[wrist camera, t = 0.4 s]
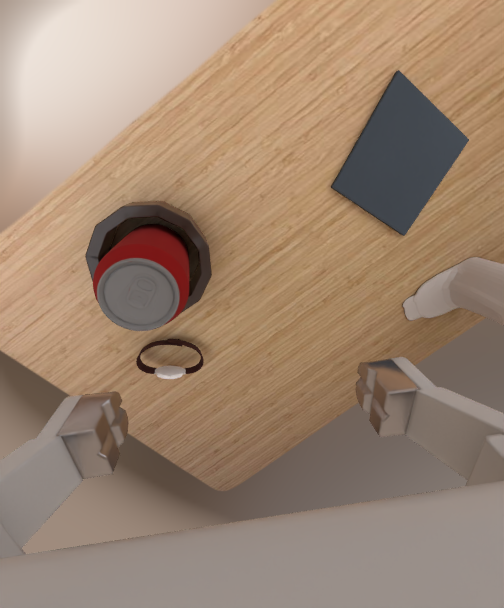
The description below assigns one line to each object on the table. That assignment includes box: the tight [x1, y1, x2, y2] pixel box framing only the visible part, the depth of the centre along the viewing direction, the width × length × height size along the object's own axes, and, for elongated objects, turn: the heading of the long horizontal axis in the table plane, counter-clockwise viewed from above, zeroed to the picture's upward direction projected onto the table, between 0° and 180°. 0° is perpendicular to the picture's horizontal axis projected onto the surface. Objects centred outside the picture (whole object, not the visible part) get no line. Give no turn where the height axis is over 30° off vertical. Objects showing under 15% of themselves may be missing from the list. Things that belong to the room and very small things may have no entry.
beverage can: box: [93, 224, 189, 331], centre depth 24 cm, size 7×7×12 cm
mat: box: [331, 70, 469, 236], centre depth 31 cm, size 12×12×1 cm
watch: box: [136, 339, 203, 379], centre depth 33 cm, size 8×5×4 cm, turn 80°
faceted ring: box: [86, 201, 212, 313], centre depth 28 cm, size 11×11×4 cm
